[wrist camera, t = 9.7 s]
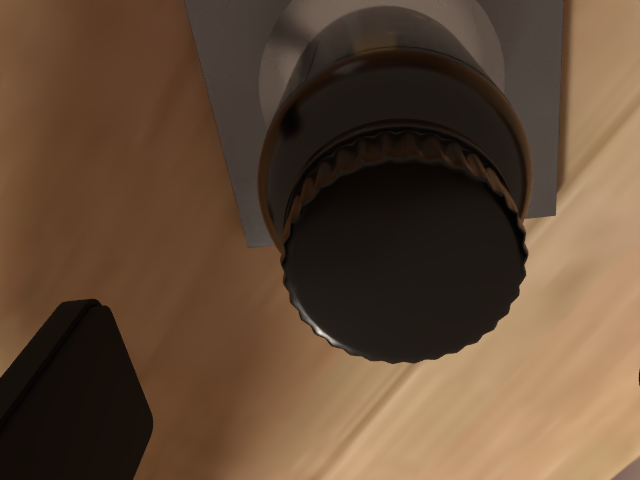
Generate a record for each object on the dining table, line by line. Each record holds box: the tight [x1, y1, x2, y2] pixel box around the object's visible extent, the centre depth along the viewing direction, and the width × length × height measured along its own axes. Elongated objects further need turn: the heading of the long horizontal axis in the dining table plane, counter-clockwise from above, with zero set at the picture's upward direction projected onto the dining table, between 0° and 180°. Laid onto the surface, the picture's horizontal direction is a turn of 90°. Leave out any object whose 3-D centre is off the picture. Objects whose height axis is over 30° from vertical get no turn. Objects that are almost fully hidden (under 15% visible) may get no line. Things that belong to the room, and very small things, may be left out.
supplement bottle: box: [257, 6, 533, 364], centre depth 16 cm, size 7×7×12 cm
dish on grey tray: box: [184, 0, 564, 248], centre depth 23 cm, size 14×14×3 cm
